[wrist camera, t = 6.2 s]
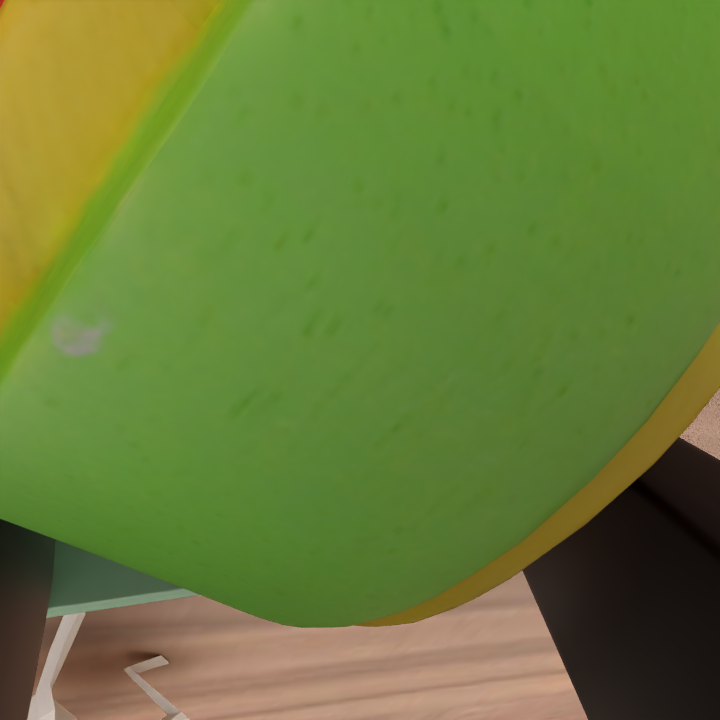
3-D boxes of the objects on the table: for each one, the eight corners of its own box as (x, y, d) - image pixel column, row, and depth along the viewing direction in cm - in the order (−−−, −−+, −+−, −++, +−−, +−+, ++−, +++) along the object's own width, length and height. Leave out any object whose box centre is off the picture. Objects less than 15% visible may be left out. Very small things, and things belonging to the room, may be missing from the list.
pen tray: (437, 428, 24) (495, 551, 20) (57, 466, 21) (31, 620, 17) (627, -545, 11) (906, -777, 7) (-277, -778, 8) (-725, -1411, 4)
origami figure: (196, 697, 32) (201, 815, 28) (3, 736, 30) (-20, 866, 26) (163, 533, 24) (163, 661, 21) (-94, 571, 23) (-145, 718, 19)
